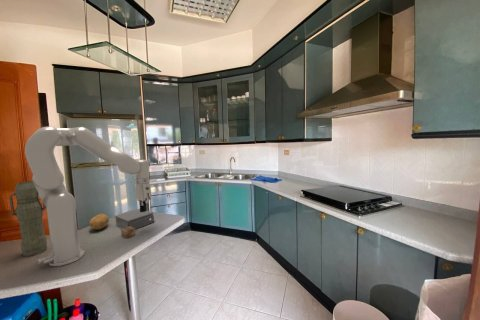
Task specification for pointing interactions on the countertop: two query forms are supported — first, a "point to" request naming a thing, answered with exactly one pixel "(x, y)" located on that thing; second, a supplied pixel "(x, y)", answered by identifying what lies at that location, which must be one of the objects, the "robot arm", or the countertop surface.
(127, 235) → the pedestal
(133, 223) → the tray
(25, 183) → the thermos
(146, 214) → the box
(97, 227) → the potato
